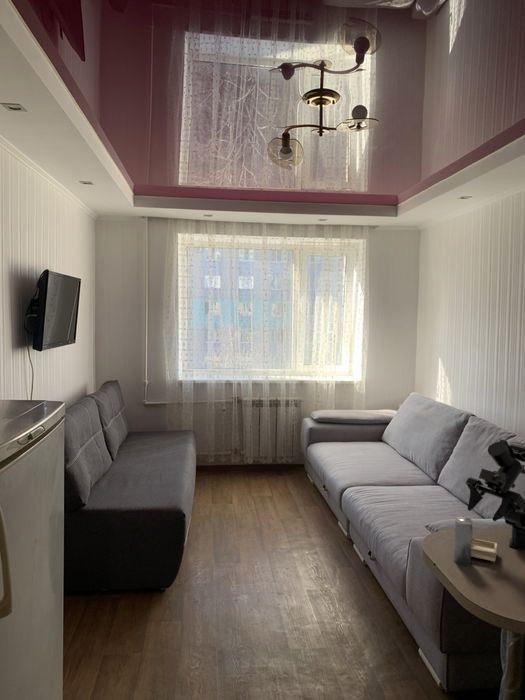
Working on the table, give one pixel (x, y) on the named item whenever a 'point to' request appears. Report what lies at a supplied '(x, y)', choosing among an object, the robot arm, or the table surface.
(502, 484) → the robot arm
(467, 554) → the canister
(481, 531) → the table surface
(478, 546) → the square wooden tray
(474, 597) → the table surface
